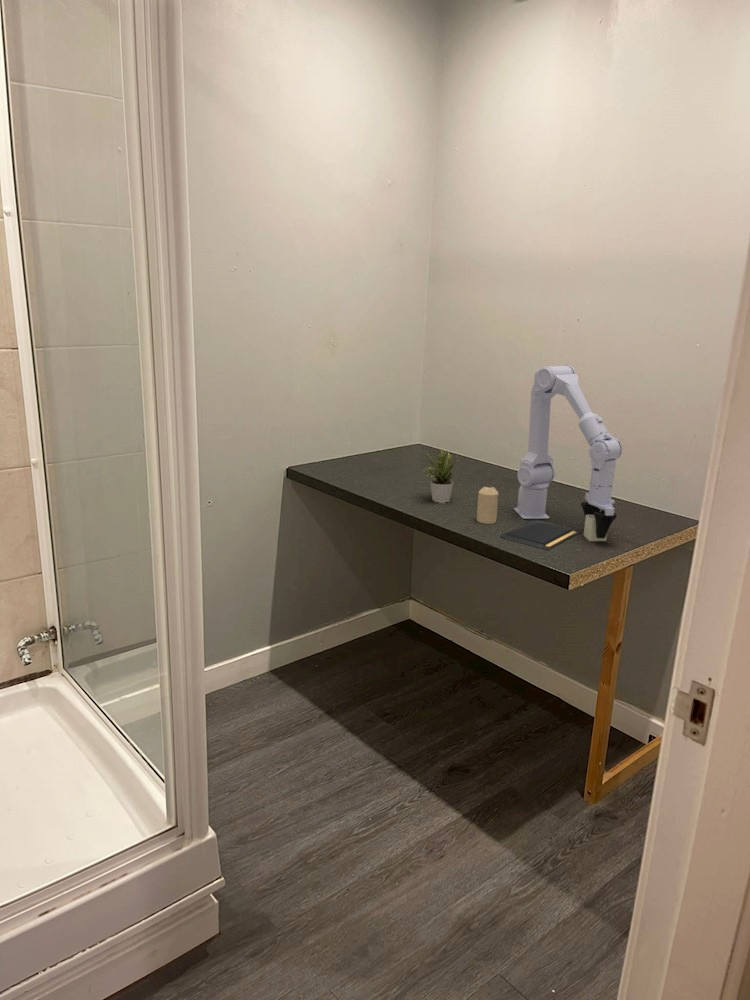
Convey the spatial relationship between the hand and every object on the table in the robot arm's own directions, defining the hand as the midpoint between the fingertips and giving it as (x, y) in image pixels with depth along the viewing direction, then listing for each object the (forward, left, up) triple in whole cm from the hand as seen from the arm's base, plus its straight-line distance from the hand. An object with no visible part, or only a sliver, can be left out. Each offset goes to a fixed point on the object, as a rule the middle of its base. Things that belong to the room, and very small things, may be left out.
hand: (595, 533), depth 192 cm
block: (0, 0, -2) cm, 2 cm away
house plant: (-36, -36, -2) cm, 51 cm away
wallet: (-3, -14, -2) cm, 15 cm away
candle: (-15, -26, -2) cm, 30 cm away
